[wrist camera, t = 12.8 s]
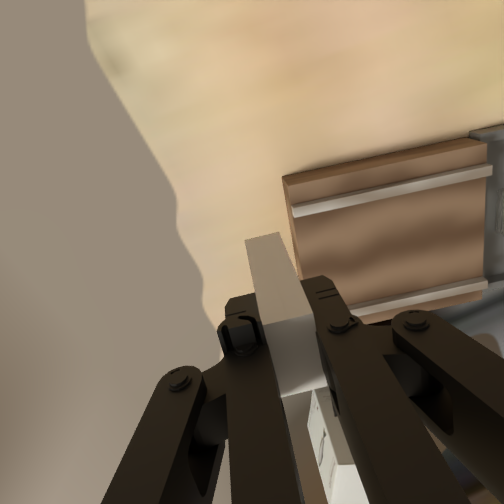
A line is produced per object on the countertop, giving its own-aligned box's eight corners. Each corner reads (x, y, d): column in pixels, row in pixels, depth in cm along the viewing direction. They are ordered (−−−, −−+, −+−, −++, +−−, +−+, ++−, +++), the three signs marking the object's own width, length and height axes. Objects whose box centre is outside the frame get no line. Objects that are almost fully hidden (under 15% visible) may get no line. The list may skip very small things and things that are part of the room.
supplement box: (311, 383, 57) (337, 463, 45) (365, 382, 57) (403, 461, 46) (305, 425, 59) (328, 510, 48) (356, 424, 60) (390, 508, 49)
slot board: (281, 176, 45) (289, 188, 40) (464, 137, 45) (493, 144, 41) (305, 317, 52) (314, 341, 48) (462, 283, 52) (486, 303, 48)
